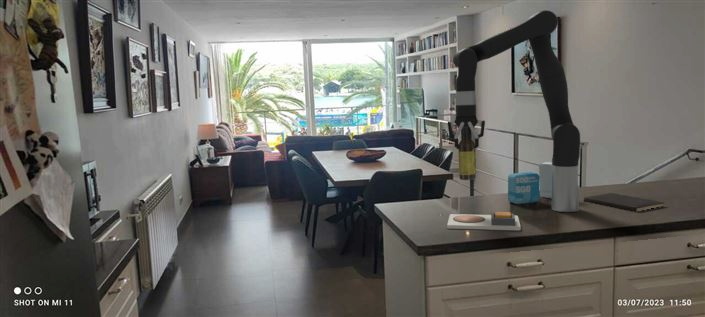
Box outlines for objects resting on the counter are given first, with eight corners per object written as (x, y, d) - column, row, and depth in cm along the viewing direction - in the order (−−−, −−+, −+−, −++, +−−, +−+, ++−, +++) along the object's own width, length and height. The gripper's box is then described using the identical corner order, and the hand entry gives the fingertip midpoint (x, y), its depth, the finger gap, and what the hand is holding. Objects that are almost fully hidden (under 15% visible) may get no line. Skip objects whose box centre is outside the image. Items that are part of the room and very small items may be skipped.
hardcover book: (610, 198, 217) (610, 192, 216) (664, 208, 196) (664, 202, 196) (583, 202, 210) (583, 197, 209) (636, 213, 189) (636, 207, 189)
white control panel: (517, 218, 186) (517, 209, 186) (520, 230, 171) (520, 219, 170) (450, 217, 192) (450, 207, 192) (447, 228, 177) (447, 218, 176)
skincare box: (564, 197, 219) (564, 162, 217) (555, 199, 215) (555, 164, 213) (547, 194, 226) (547, 161, 224) (538, 196, 222) (538, 162, 220)
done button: (510, 217, 178) (510, 212, 178) (510, 221, 174) (510, 215, 173) (495, 217, 180) (495, 211, 179) (495, 220, 175) (495, 215, 175)
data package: (514, 204, 209) (514, 175, 208) (507, 202, 213) (507, 173, 212) (539, 201, 212) (539, 173, 211) (532, 199, 217) (532, 171, 215)
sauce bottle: (478, 179, 192) (478, 126, 190) (463, 181, 191) (462, 127, 188) (471, 177, 198) (470, 125, 196) (456, 178, 197) (455, 126, 195)
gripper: (485, 102, 193) (486, 147, 195) (446, 104, 197) (447, 147, 199) (485, 103, 186) (486, 149, 188) (445, 104, 189) (446, 150, 191)
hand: (466, 148), depth 193 cm, fingers closed on sauce bottle, 6 cm apart
